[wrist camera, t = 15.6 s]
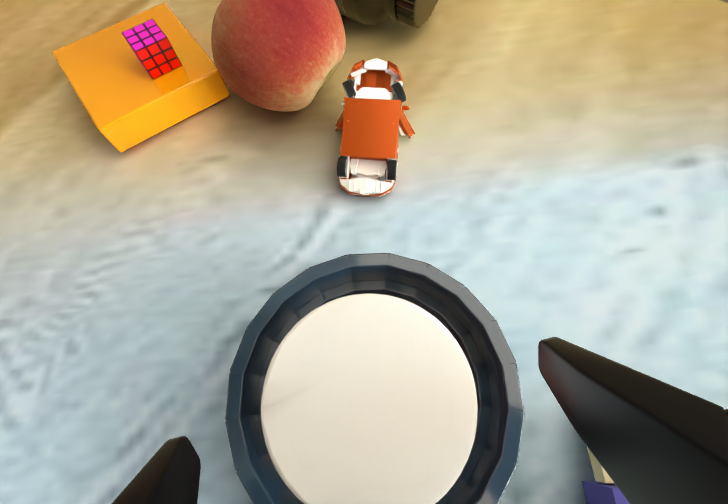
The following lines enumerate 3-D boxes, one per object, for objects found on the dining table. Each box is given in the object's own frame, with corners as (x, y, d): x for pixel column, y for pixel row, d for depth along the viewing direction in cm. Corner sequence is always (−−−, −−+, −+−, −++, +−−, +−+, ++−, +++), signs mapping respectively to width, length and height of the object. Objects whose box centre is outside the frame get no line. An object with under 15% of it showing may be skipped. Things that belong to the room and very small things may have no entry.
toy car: (330, 54, 22) (338, 81, 25) (321, 191, 22) (331, 200, 25) (421, 55, 21) (417, 82, 24) (413, 195, 21) (411, 204, 24)
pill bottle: (432, 327, 19) (495, 255, 9) (444, 462, 17) (546, 575, 7) (312, 331, 19) (237, 265, 9) (310, 466, 17) (207, 582, 7)
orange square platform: (120, 153, 24) (72, 103, 20) (75, 79, 26) (24, 21, 22) (231, 96, 26) (206, 39, 22) (178, 31, 28) (148, -30, 24)
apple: (354, 35, 27) (251, -49, 24) (381, -1, 19) (236, -129, 16) (295, 133, 28) (191, 64, 25) (299, 136, 20) (153, 37, 18)
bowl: (503, 315, 20) (541, 292, 15) (461, 560, 16) (495, 628, 12) (306, 261, 21) (286, 225, 17) (228, 475, 18) (175, 506, 13)
